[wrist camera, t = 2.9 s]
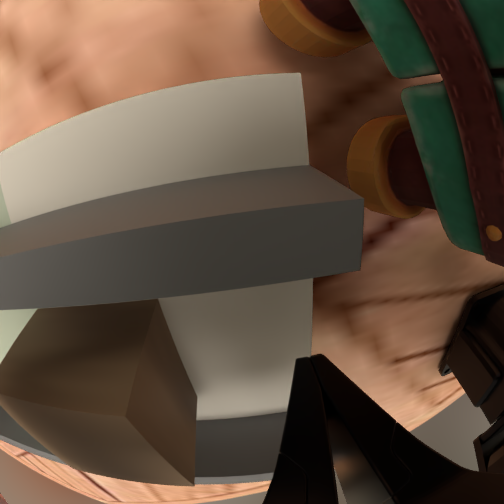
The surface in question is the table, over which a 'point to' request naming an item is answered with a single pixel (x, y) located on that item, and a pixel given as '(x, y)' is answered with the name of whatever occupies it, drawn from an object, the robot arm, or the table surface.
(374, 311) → the table surface
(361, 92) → the table surface
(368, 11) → the binoculars
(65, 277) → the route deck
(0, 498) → the flower
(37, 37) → the table surface
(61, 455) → the walnut block
